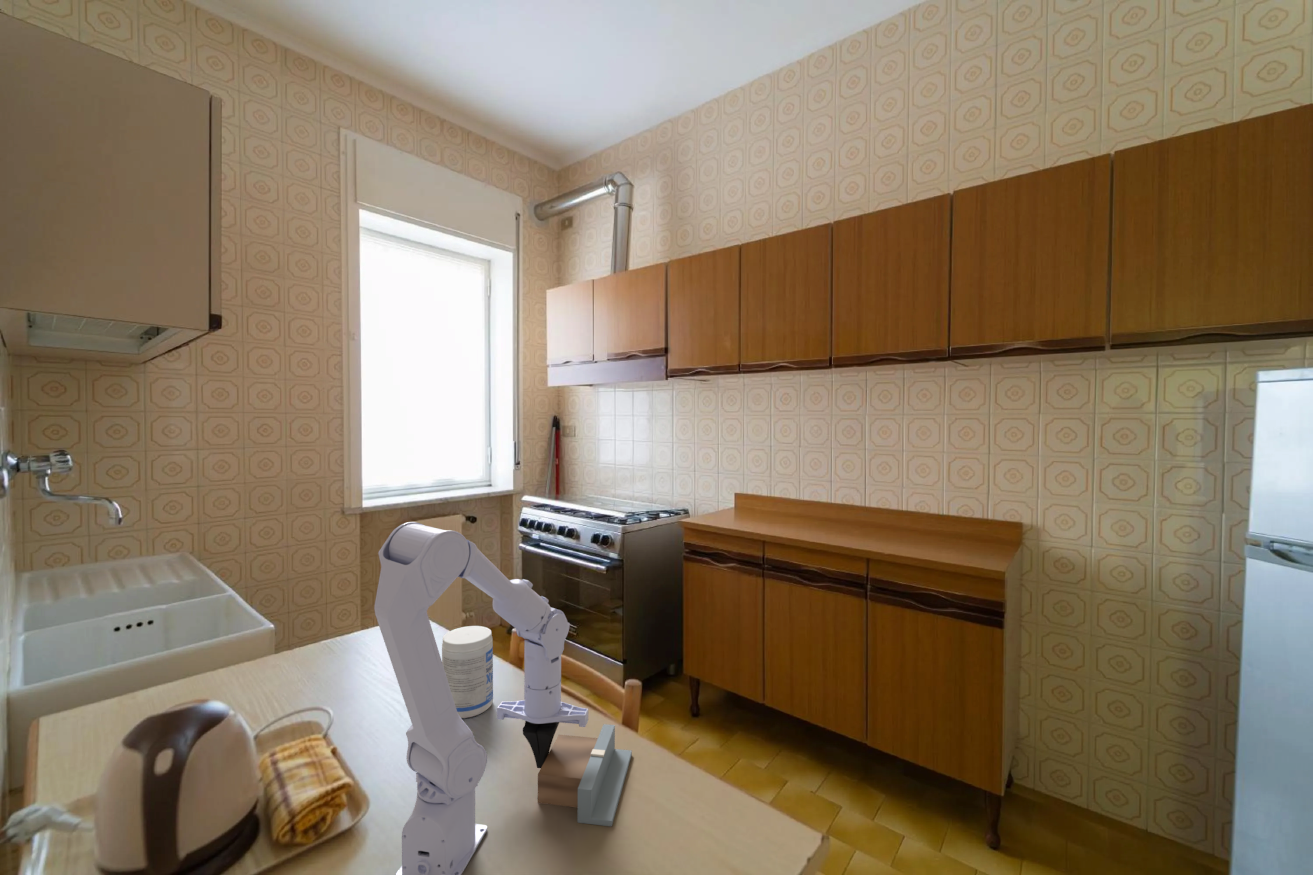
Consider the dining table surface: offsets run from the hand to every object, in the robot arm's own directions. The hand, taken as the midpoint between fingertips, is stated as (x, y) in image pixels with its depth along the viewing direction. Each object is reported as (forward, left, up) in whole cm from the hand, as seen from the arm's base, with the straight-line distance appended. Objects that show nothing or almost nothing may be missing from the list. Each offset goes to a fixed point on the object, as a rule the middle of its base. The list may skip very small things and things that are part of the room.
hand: (542, 764), depth 84 cm
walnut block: (0, -5, -2) cm, 5 cm away
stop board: (0, -11, -2) cm, 11 cm away
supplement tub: (+18, +22, -3) cm, 28 cm away
